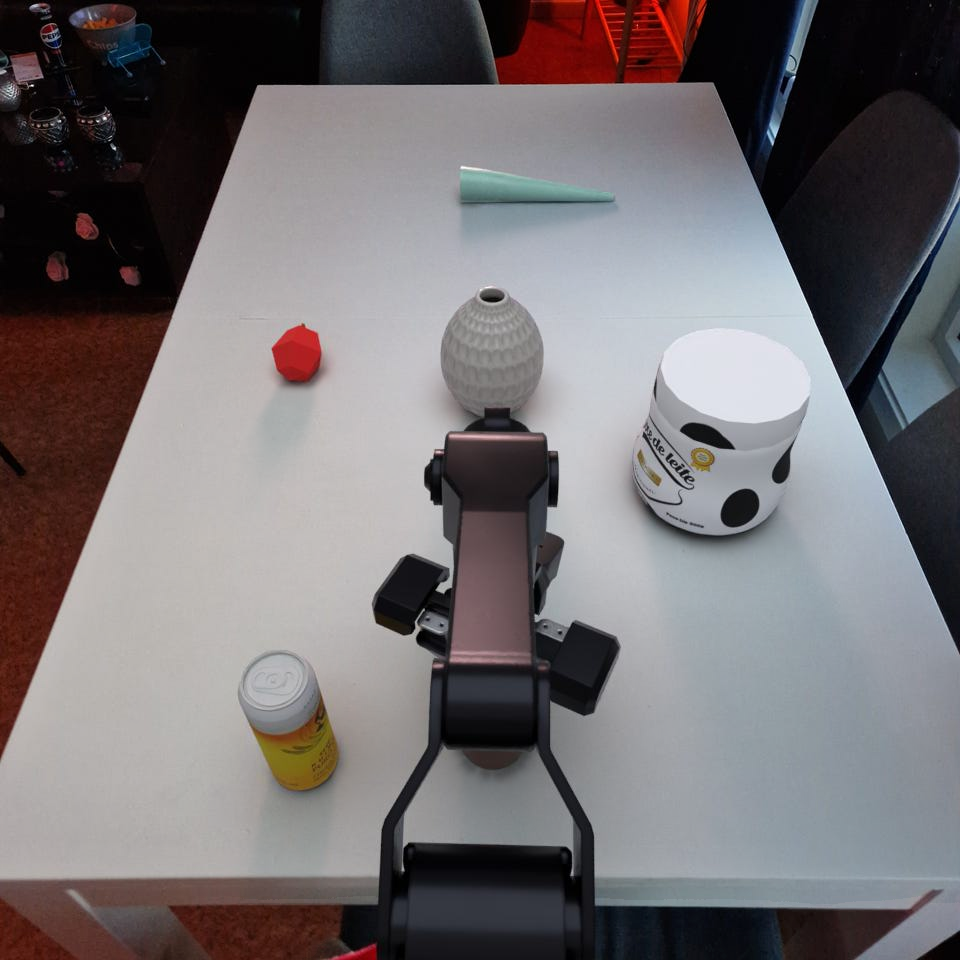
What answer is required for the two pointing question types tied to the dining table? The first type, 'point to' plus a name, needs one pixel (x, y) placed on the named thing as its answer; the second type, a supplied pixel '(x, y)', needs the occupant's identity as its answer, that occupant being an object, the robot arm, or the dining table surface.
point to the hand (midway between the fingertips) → (492, 683)
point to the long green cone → (520, 188)
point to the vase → (491, 352)
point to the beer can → (288, 718)
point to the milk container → (720, 431)
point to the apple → (297, 353)
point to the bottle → (492, 758)
